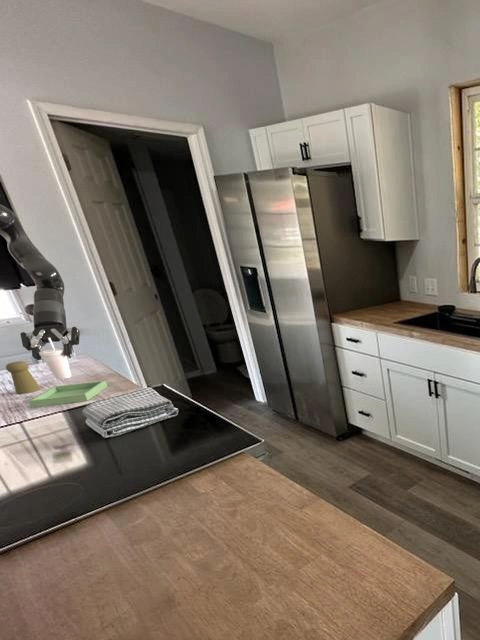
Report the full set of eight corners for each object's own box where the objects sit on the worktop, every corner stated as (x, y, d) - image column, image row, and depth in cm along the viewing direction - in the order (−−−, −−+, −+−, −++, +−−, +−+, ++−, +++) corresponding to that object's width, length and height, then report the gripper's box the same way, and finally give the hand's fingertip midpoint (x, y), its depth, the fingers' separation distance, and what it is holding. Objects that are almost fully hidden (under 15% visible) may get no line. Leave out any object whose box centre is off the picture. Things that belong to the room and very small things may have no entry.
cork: (30, 387, 153) (16, 359, 149) (45, 387, 153) (32, 359, 149) (11, 394, 147) (-4, 365, 143) (27, 394, 147) (13, 365, 143)
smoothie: (74, 378, 141) (57, 338, 136) (47, 382, 138) (29, 341, 133) (79, 372, 146) (62, 334, 141) (53, 376, 143) (36, 337, 138)
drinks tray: (31, 407, 135) (27, 401, 134) (56, 392, 148) (53, 386, 147) (87, 400, 140) (85, 394, 140) (107, 386, 153) (105, 380, 152)
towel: (86, 429, 120) (75, 404, 117) (161, 406, 135) (153, 384, 132) (105, 441, 113) (94, 416, 110) (182, 416, 127) (174, 393, 124)
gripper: (83, 319, 149) (86, 358, 144) (26, 325, 142) (28, 366, 137) (72, 307, 143) (76, 347, 138) (13, 312, 136) (14, 355, 131)
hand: (52, 356), depth 138 cm, fingers closed on smoothie, 6 cm apart
